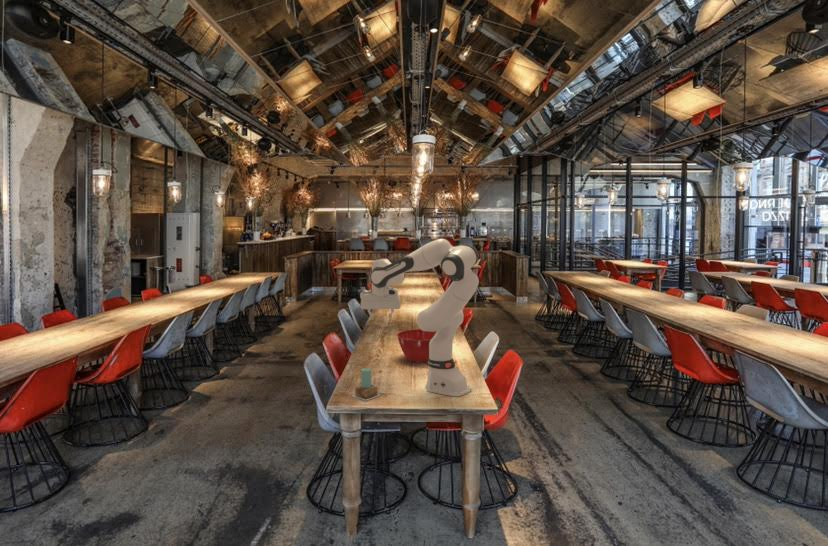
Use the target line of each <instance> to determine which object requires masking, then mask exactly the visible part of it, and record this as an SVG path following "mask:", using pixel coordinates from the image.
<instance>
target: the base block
mask: <svg viewBox="0 0 828 546" xmlns="http://www.w3.org/2000/svg"><path fill="white" fill-rule="evenodd" d="M377 393H378V386H377V385H374V384H371V388H362V385H361V384H360V385H358V386H355V392H354V394H355V395H356V396H358V397H361V398H364V399H368V398H371V397H373V396H376V395H377Z"/></svg>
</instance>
